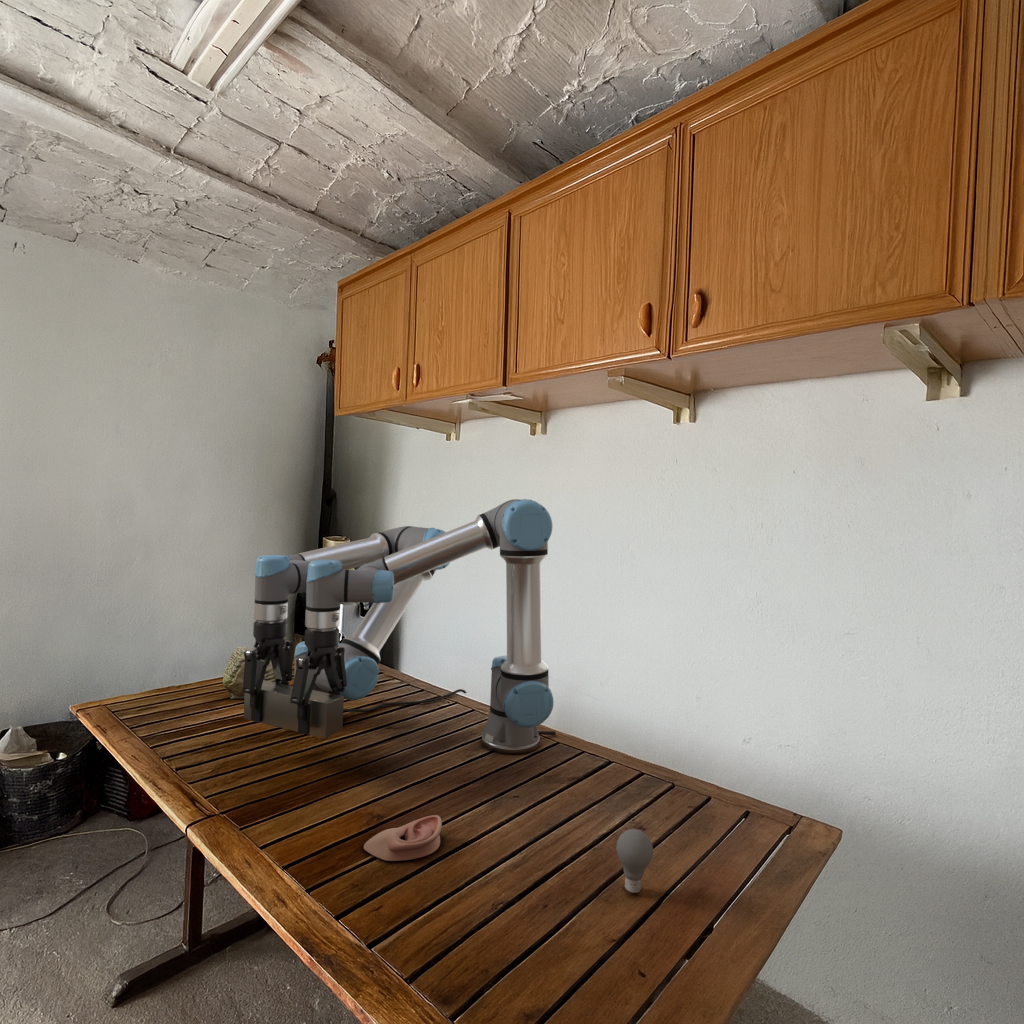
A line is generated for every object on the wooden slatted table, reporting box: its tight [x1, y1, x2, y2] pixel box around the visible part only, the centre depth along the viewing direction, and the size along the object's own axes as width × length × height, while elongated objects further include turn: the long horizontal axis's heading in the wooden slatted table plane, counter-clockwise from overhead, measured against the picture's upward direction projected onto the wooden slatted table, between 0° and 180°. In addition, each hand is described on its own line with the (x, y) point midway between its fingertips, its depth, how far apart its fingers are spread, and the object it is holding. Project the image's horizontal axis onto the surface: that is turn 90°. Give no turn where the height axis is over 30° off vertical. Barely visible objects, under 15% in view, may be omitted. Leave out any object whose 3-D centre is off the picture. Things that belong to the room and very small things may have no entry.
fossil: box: [222, 646, 276, 699], centre depth 198 cm, size 9×18×15 cm, turn 132°
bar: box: [243, 680, 345, 739], centre depth 148 cm, size 24×6×8 cm, turn 66°
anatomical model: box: [363, 814, 443, 862], centre depth 116 cm, size 13×4×12 cm
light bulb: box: [615, 828, 654, 894], centre depth 106 cm, size 6×6×10 cm
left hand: (267, 716), depth 151 cm, fingers closed on bar, 6 cm apart
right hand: (318, 725), depth 145 cm, fingers open, 9 cm apart
